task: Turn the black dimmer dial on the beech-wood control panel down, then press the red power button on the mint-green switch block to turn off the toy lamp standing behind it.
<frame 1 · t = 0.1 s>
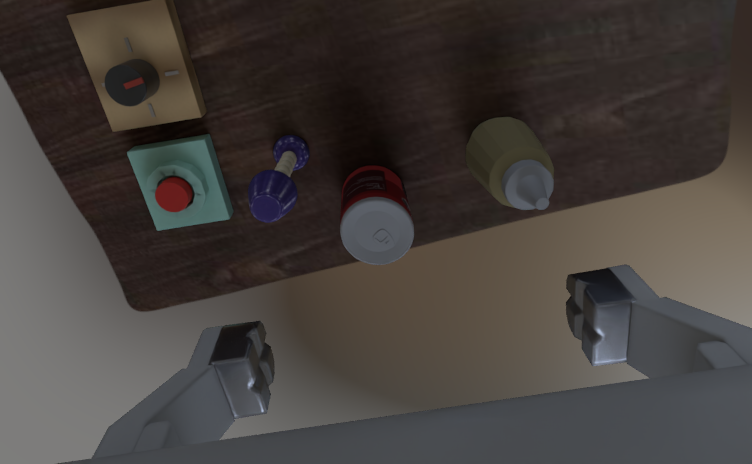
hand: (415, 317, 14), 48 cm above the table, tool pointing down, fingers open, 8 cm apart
switch block: (185, 179, 62), on the table
squeeze bottle: (492, 141, 62), on the table
power button: (173, 194, 58), point 5 cm above the table, slide at 0.2 cm
dimmer panel: (145, 64, 56), on the table
dimmer knob: (132, 82, 52), point 5 cm above the table, hinge at 100.0°
canned food: (373, 192, 64), on the table
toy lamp: (289, 150, 61), on the table
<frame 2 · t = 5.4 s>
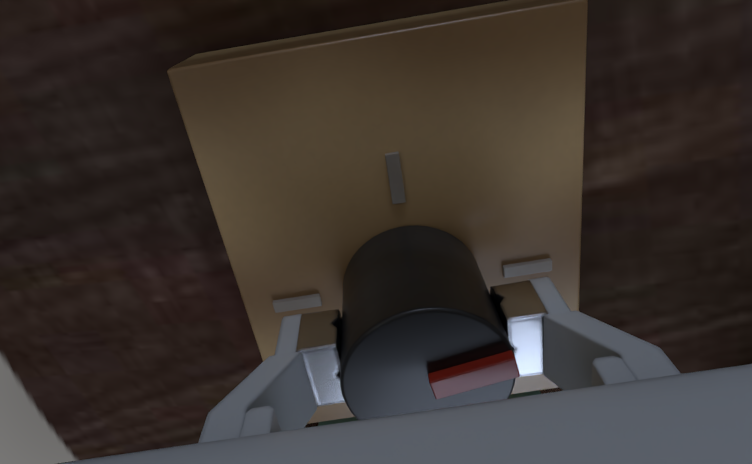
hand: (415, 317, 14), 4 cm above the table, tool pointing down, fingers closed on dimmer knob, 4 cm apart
dimmer panel: (399, 217, 17), on the table
dimmer knob: (419, 330, 13), point 5 cm above the table, hinge at 99.8°, touching gripper
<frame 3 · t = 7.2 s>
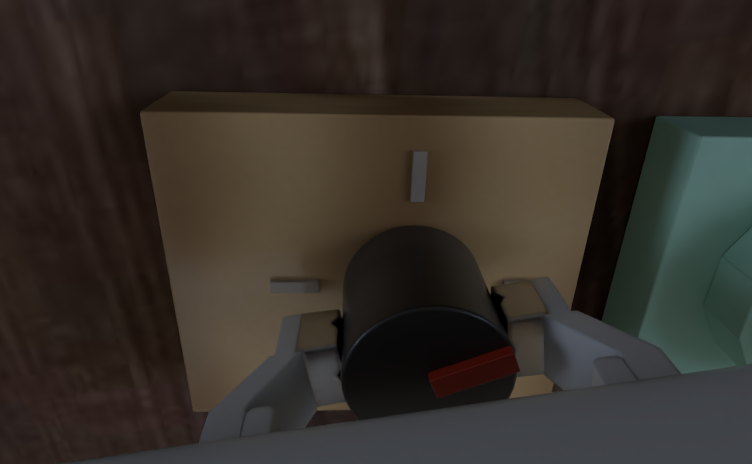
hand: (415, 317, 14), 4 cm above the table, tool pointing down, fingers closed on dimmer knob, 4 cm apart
dimmer panel: (374, 244, 17), on the table
dimmer knob: (420, 330, 13), point 5 cm above the table, hinge at 22.9°, touching gripper
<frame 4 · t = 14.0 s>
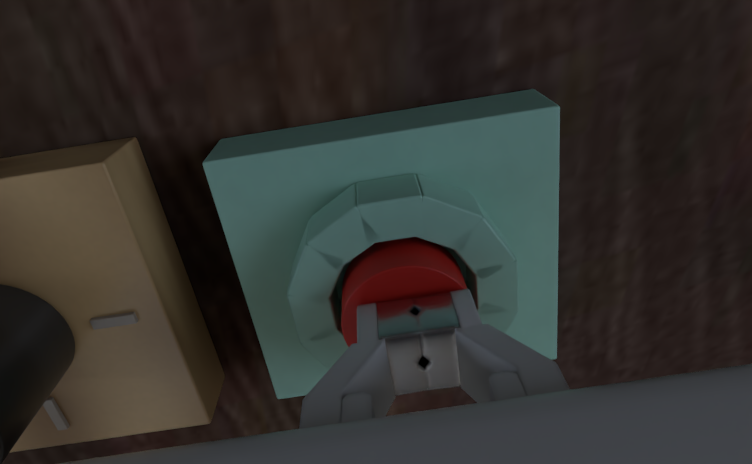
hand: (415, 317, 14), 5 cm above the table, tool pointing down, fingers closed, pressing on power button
switch block: (394, 238, 18), on the table
power button: (405, 304, 15), point 4 cm above the table, slide at -0.3 cm, touching gripper
dimmer panel: (24, 295, 19), on the table
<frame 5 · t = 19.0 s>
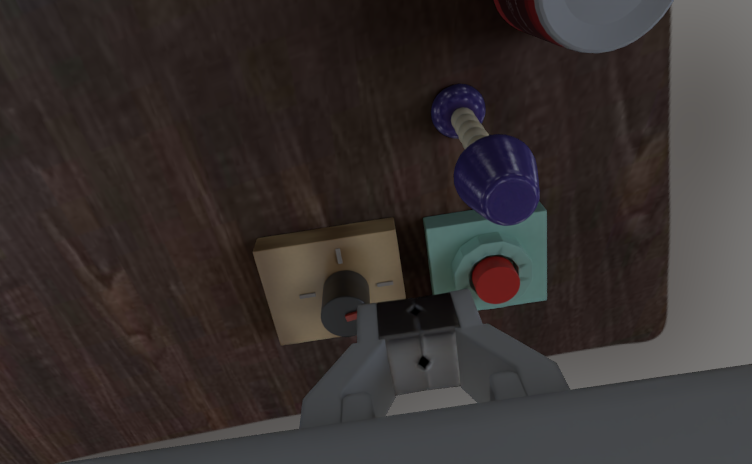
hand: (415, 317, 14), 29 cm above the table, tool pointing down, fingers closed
switch block: (483, 253, 47), on the table
power button: (495, 280, 43), point 5 cm above the table, slide at 0.2 cm
dimmer panel: (335, 275, 47), on the table
dimmer knob: (345, 303, 43), point 5 cm above the table, hinge at 10.9°
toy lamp: (454, 113, 41), on the table
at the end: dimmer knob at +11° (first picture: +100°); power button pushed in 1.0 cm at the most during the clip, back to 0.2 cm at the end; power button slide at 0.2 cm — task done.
